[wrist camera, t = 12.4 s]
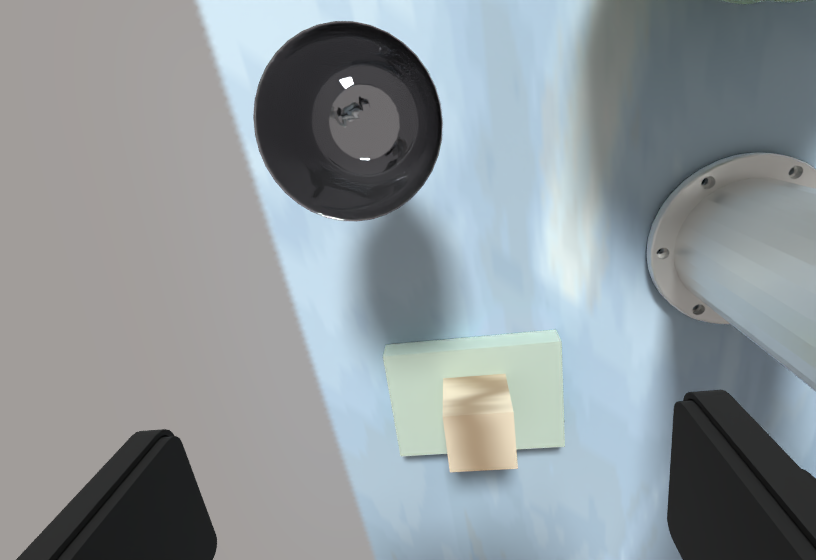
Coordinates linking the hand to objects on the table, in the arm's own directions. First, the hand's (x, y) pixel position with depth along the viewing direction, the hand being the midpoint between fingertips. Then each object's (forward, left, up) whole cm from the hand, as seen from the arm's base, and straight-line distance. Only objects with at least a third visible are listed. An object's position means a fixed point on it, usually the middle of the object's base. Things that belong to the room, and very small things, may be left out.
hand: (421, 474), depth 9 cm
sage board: (-1, +17, -28) cm, 33 cm away
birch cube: (-1, +17, -26) cm, 31 cm away
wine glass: (+3, -6, -28) cm, 29 cm away
